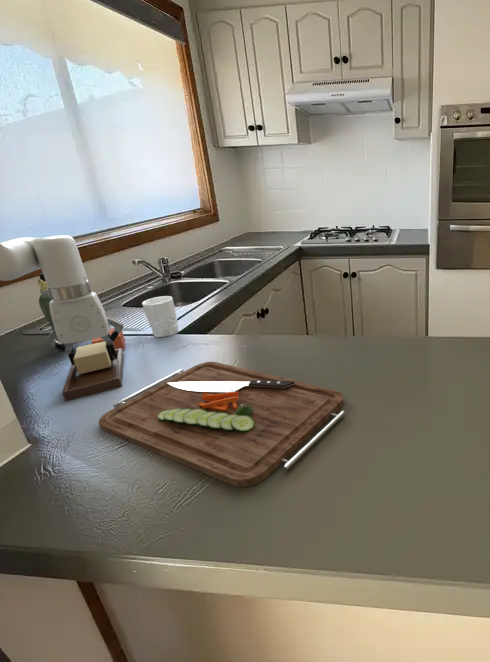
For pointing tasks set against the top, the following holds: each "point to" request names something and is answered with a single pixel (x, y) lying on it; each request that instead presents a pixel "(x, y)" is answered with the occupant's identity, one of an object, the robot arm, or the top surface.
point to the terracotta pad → (117, 343)
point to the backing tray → (94, 379)
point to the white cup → (161, 315)
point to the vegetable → (45, 303)
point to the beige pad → (92, 358)
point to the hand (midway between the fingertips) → (95, 361)
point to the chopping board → (225, 420)
